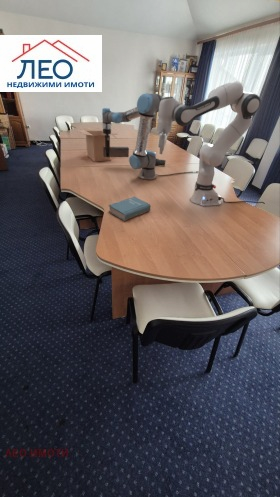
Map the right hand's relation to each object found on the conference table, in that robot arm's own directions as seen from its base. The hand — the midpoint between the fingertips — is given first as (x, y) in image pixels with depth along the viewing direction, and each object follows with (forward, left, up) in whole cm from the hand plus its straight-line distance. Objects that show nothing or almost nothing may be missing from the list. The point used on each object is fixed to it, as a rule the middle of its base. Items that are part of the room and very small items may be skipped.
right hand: (161, 152), depth 144 cm
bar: (+29, -75, -23) cm, 84 cm away
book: (+21, +18, -34) cm, 44 cm away
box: (+48, -112, -34) cm, 127 cm away
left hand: (+37, -74, -22) cm, 85 cm away
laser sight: (-13, -93, -34) cm, 100 cm away
